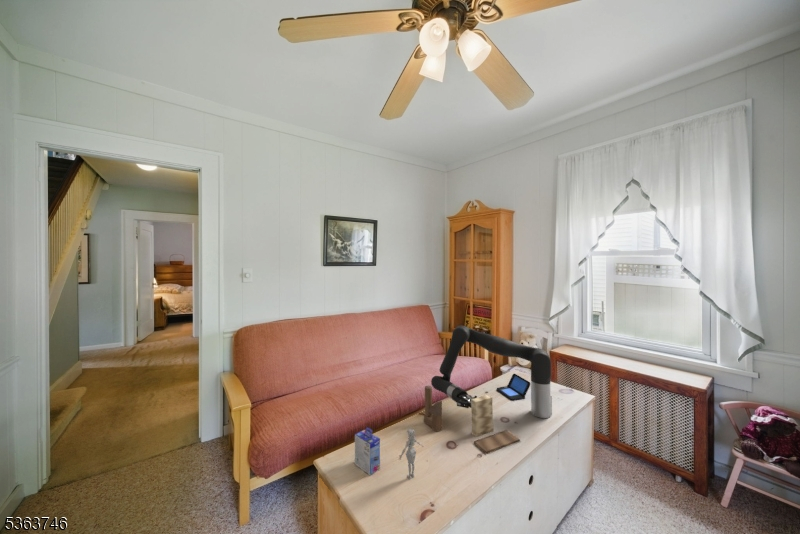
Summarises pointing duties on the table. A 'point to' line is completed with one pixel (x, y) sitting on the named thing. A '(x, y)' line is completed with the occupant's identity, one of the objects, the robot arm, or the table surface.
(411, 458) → the human figurine
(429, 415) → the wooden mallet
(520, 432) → the table surface
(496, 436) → the floor panel
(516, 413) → the table surface
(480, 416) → the oak plank
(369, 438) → the ink cartridge box
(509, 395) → the handheld game console
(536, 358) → the robot arm
